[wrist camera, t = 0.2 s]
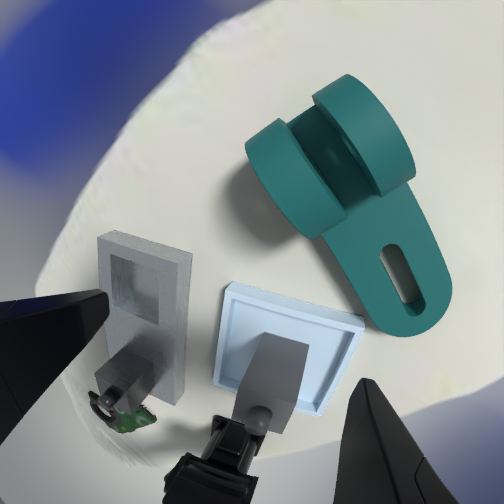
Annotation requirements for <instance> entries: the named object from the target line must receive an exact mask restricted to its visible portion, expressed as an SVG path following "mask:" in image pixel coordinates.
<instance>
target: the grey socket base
mask: <svg viewBox="0 0 504 504" xmlns="http://www.w3.org/2000/svg"><path fill="white" fill-rule="evenodd" d="M97 242H98V266H99V281H100V290H103V291H105V292H107V293H108V296H109V307H110V314H109V317H108V318H107V320H106V321H105V322H104V327H105V334H106V341H107V347H108V353H109V358H110V360H108V361H107V362H106V363H105V364H104V365H103V366H102V367H101V368H100V369H99V370H98V371H96V372H95V377H96V380H97V384H98V388H99V391H100V394H101V396H100V397H99V398H98V399H97V400H98V402H99V404H100V405H101V406H102V407H103V408H104V409H106V410H108V411H110V410H111V409H112V407H113V406H116V407H118V408H119V409H121V410H123V411H124V412H126V413H128V414H130V415H132V414H133V412H134V411H135V410H136V409H137V408H138V406H139V405H140V404H141V403H142V402H143V400H144V399H145V398H146V397H147V396H148V394H149V395H152V396H154V397H157V398H159V399H161V400H163V401H165V402H167V403H169V404H171V405H174V406H175V405H176V403H177V402H178V400H179V399H180V397H181V396H182V395H183V393H184V376H185V350H186V331H187V314H188V300H189V287H190V275H191V264H192V253H189V252H185V251H182V250H179V249H175V248H172V247H168V246H165V245H162V244H158V243H155V242H152V241H148V240H145V239H142V238H138V237H135V236H132V235H128V234H125V233H122V232H119V231H115V230H114V231H111V232H109V233H106V234H104V235H101V236H98V237H97Z"/></svg>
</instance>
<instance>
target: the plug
mask: <svg viewBox="0 0 504 504" xmlns="http://www.w3.org/2000/svg"><path fill="white" fill-rule="evenodd" d="M309 345H310V344H306V343H302V342H299V341H295V340H291V339H288V338H284V337H281V336H277V335H274V334H271V333H267V332H264V334H263V336H262V338H261V341H260V343H259V345H258V347H257V349H256V351H255V353H254V356H253V358H252V360H251V362H250V364H249V366H248V368H247V370H246V372H245V374H244V377H243V379H242V381H241V383H240V385H239V387H238V392H237V396H236V400H235V405H234V409H233V414H232V418H231V419H233V420H236V421H239V422H242V423H245V424H244V429H245V430H246V431H247V432H248V433H250V434H253V435H257V436H262V435H265V434H266V433H267V430H268V431H272V432H275V433H279V434H282V433H283V431H284V429H285V427H286V425H287V423H288V421H289V418H290V416H291V414H292V412H293V410H294V408H295V406H296V403H297V399H298V395H299V391H300V386H301V382H302V378H303V373H304V369H305V364H306V359H307V354H308V350H309Z"/></svg>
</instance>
